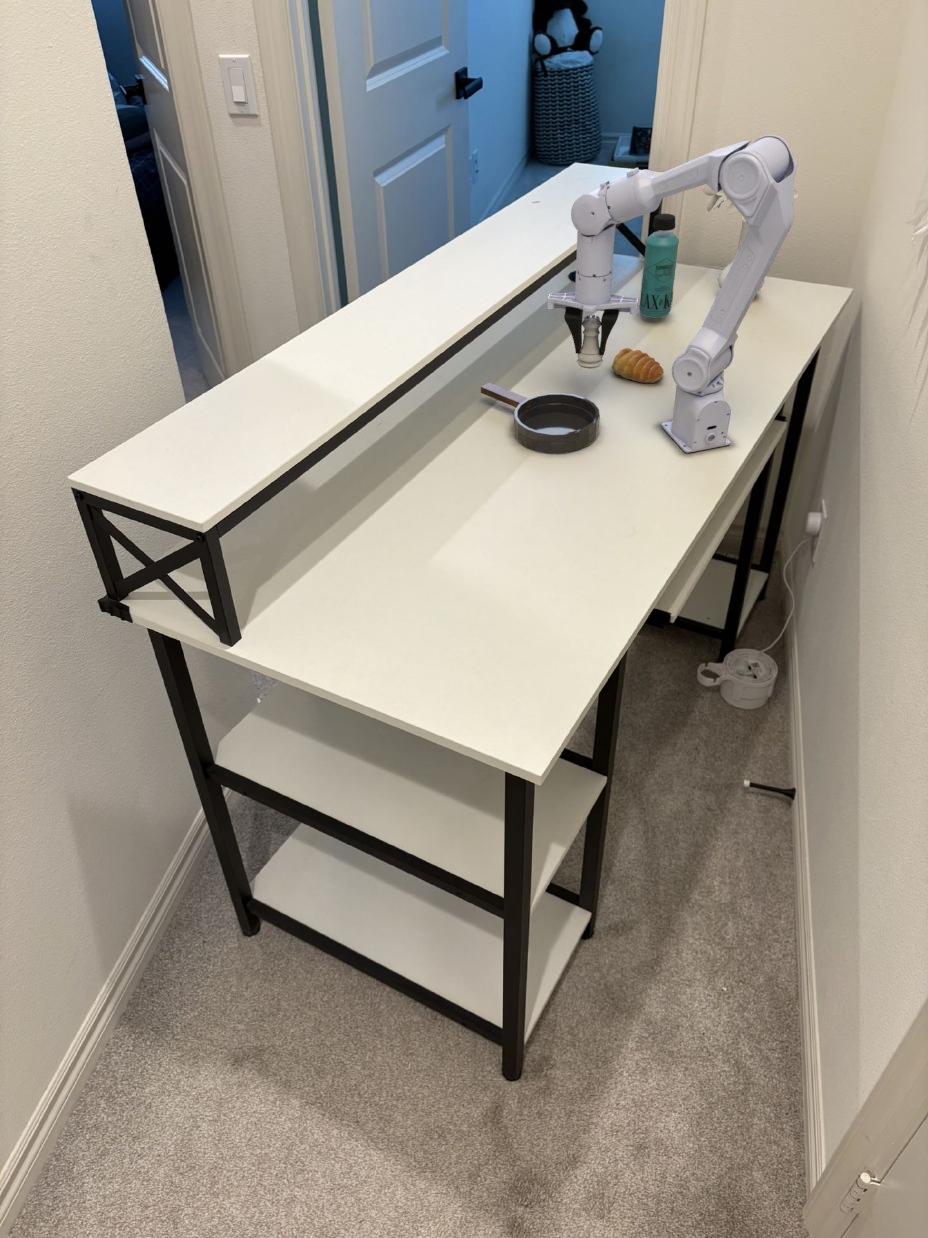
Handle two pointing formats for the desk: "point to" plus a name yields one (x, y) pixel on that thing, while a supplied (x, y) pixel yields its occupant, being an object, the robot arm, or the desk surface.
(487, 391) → the pan handle
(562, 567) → the desk surface
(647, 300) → the beverage bottle
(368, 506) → the desk surface
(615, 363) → the pastry
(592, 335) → the rook chess piece
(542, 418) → the pan
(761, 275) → the robot arm
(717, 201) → the flower vase
